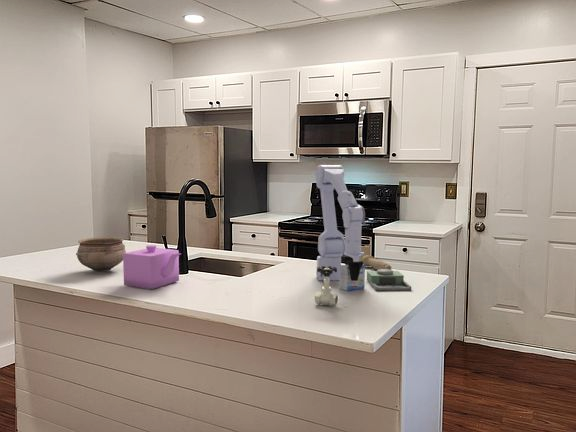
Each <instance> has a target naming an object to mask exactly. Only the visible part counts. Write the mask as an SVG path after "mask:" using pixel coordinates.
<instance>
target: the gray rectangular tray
mask: <svg viewBox="0 0 576 432" xmlns="http://www.w3.org/2000/svg"><path fill="white" fill-rule="evenodd" d="M370 286H371V287H372V289H373V290H374V291H375V292H402V291H403V292H406V291H407V292H408V291H409V292H410V291H412V286H411V285H410V284H409V283H408V282H407V281H405V280H404V281H402V284H375V283H374V282H373V281H371V284H370Z"/></svg>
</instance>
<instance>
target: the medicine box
mask: <svg viewBox="0 0 576 432" xmlns="http://www.w3.org/2000/svg"><path fill="white" fill-rule="evenodd" d="M365 272H366V266H365V265H362V267H361V269H360V272H359V277H358V280H357V281H351V277H350V270H349V266H348V265H345V264H341V265H340V280H339V289H341V290H343V291H346V292H349V291H356V290H357V291H358V290H364V289H365V283H366V282H365V278H366V277H365V276H366V274H365Z"/></svg>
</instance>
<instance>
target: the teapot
mask: <svg viewBox="0 0 576 432" xmlns="http://www.w3.org/2000/svg"><path fill="white" fill-rule="evenodd" d="M180 255H181V253H180V252H179V250H178V249H170V248H169V249H168V248H161V247H157V245H156V244H151V245H150V244H148V245H146V246H145V248H142V249H138V250H133V251H127V252H126V253H123V261H122V262H123V265H122V267H123V285H124V286H126V287H127V286H128V287H133V288H141V289H146V290H147V289H148V290H154V289H157V288H160V287H163V286H166V285H169V284H173V283H176V282H180V267H179V266H180V262H179V261H180V260H179V259H180Z"/></svg>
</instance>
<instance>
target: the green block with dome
mask: <svg viewBox="0 0 576 432" xmlns="http://www.w3.org/2000/svg"><path fill="white" fill-rule="evenodd" d="M404 277H405V275H403V274H402V273H401V272H400V271H399V270H392V269H391V270H389V269H379V270H377V269H376V270H368V271H366V281H367V283H369V284H370V285H371V281H373V282H374V283H375V284H402V281H405V280H404V279H405V278H404Z"/></svg>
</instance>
